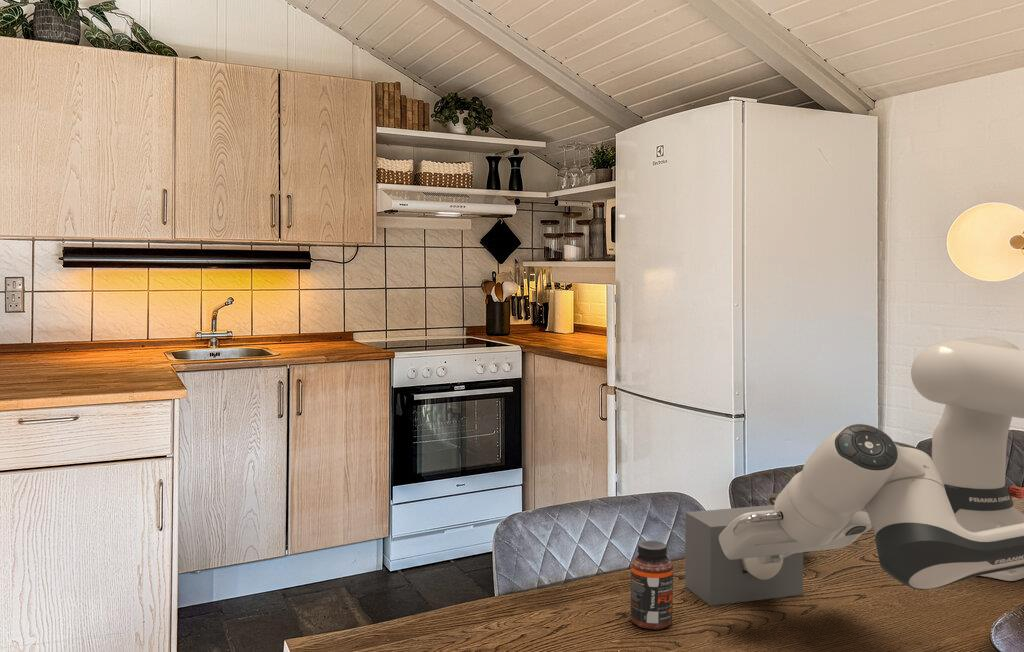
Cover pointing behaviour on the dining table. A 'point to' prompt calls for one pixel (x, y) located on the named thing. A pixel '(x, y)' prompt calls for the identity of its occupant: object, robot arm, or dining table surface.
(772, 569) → the push knob
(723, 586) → the knob mount
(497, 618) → the dining table surface
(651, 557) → the supplement bottle
